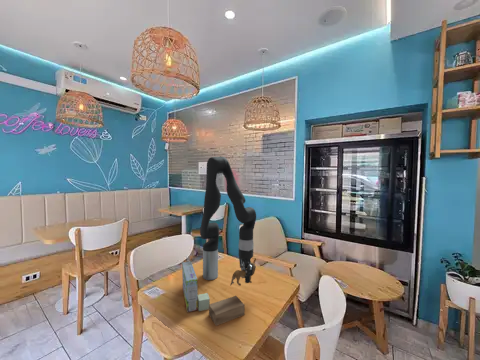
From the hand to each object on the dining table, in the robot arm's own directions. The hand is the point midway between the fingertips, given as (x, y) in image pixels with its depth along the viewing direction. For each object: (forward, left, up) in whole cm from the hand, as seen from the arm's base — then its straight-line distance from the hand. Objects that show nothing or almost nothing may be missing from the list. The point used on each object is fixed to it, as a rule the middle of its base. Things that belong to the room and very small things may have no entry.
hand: (245, 280), depth 106 cm
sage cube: (0, -21, -10) cm, 23 cm away
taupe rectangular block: (+9, -12, -10) cm, 18 cm away
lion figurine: (0, -1, -1) cm, 1 cm away
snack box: (-9, -27, -10) cm, 30 cm away
